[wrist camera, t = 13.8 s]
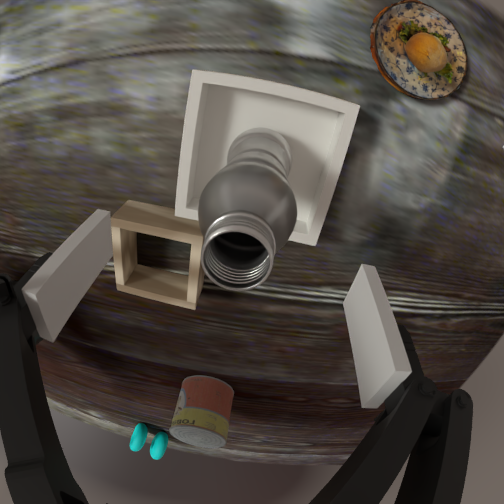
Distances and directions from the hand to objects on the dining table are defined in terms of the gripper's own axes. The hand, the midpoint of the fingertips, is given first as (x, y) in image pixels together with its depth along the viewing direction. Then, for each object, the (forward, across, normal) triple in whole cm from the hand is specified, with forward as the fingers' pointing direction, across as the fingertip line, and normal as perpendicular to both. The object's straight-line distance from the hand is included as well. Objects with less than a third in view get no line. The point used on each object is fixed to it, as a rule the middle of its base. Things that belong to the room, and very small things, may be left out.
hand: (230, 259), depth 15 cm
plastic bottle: (+20, 0, 0) cm, 20 cm away
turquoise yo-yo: (+22, +16, +85) cm, 89 cm away
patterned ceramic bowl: (+21, -14, -17) cm, 31 cm away
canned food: (+21, 0, +50) cm, 54 cm away
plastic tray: (+21, 0, 0) cm, 21 cm away
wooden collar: (+21, +10, +15) cm, 27 cm away
